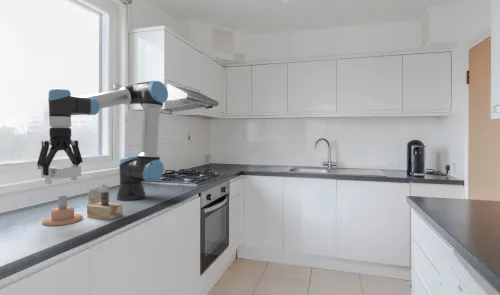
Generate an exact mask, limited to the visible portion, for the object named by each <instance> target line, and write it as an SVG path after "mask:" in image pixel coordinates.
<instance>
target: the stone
mask: <svg viewBox="0 0 500 295" xmlns="http://www.w3.org/2000/svg"><path fill="white" fill-rule="evenodd" d="M101 192H108V202H110V203H111V200H110V195H111V194H110V193H111V192H110V187H109V186H107V184H105V183H100V184H97V185H96V186H93V188H91V189H89V191H88V192H87V204H88V205H91V204H95V203H99V202H101Z"/></svg>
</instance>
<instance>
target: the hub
mask: <svg viewBox="0 0 500 295" xmlns="http://www.w3.org/2000/svg"><path fill="white" fill-rule="evenodd" d="M57 203H58V207H55V208H52V209H51V210H50V214H51V215H50V217H46V218H44V219H43V220H42V225H43V226H47V227H58V226H59V227H60V226H67V225H72V224H75V223H78V222H80V221H82V220H83V217H84V216H83V215H82V214H80V213H75V207H74V206H68V196H67V194H62V195H61V194H60V195H57Z"/></svg>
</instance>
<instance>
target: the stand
mask: <svg viewBox="0 0 500 295" xmlns="http://www.w3.org/2000/svg"><path fill="white" fill-rule="evenodd" d="M86 209H87V210H86V214H87V215H86V217H87V218H94V219H99V220H105V221H108V220H113V219H114V218H117V217H118V218H119V217H121V216H123V203H116V202H111V201H110V202H108V192H101V202H99V203H95V204H91V205H86Z"/></svg>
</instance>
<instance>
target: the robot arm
mask: <svg viewBox="0 0 500 295" xmlns="http://www.w3.org/2000/svg"><path fill="white" fill-rule="evenodd" d="M168 98H169V92H168V89H167V87H166V86H165V84H164V83H163V82H162V81H159V80H150V81H142V82H137V83H134V84H130V85H126V86H123V87H121V88H119V89H117V90H110V91H104V92H99V93H95V94H88V95H81V96H76V95H75V96H74V95H72V94H71V91H70V90H68V89H66V88H63V89H62V88H51V89H49V91H48V98H47V99H48V118H49V121H48V122H49V124H48V125H49V127H50V128H49V129H48V130H49V132H48V133H49V140H42V141H41V149H40V152H39V156H38V160H37V163H36V166H39V167H40V168H42V167H43V175H45V178H44V183H45V184H48V185H51V184H52V181H53V180H52V178H51V167H52V166H50V165H51V163H52V161H53V159H54V158H55V156H56V154H57V152H59V151H64V152H65V154H66V156H67V157H68V159H69V160H70V162H71V163H72V164H70V166H80V164H81V163H83V162H84V161H83V157H82V154H81V151H80V147H79V141H78V140H72V138H71V137H72V128H70V127H72V116H83V115H85V116H86V115H88V116H96V115H97V114H99V112H100V110H102V109H105V108H109V107H113V106H121V105H126V106H127V105H134V104H135V105H140V107H141V108H142V118H141V120H142V122H141V135H140V136H141V138H140V152H139V153H138V154H137V155H136V156H128V157H121V158H120V159H119V163H118V164H119V165H118V166H119V187H118V191H117V194H116V199H117V201H135V200H136V201H139V200H141V199H145V198H146V196H147V195H146V191H145V188H144V185H143V181H144V182H148V183H149V182H151V183H152V182H153V183H154V182H156V181H158V180H160V178H162V175H163V174H164V170H165V167H164V164H163V161H161V160H160V159H161V157H160V155H159V154H158V148H159V146H158V145H159V130H160V128H159V127H160V111H161V110H162V108H163V106H164V103H165V102H167V100H168ZM50 146H51V147H50ZM70 180H71V181H77V180H78V176H76V177H70Z"/></svg>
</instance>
